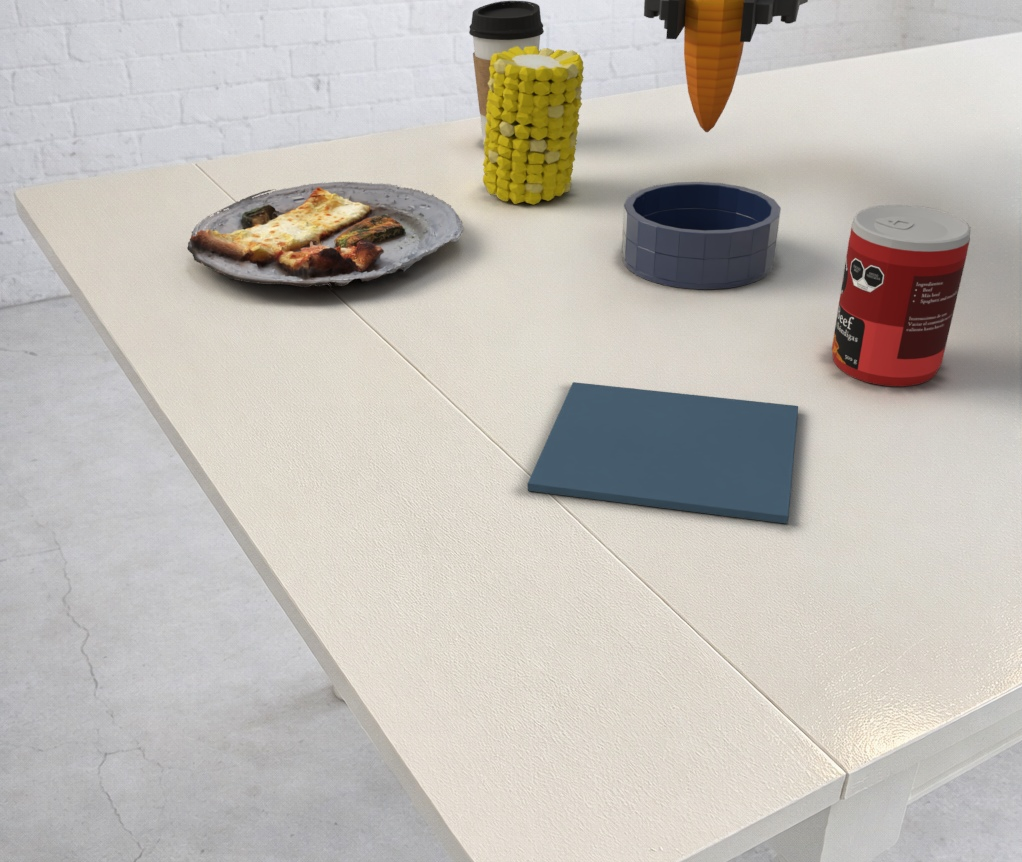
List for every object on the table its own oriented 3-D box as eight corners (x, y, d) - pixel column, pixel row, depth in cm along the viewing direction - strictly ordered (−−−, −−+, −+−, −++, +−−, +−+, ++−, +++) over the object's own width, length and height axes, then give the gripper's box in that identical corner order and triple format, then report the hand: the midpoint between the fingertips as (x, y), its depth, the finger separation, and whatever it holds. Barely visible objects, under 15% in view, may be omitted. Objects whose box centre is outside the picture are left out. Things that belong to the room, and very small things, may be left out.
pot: (777, 239, 106) (784, 186, 104) (768, 295, 95) (775, 238, 93) (634, 228, 109) (637, 177, 106) (610, 282, 98) (612, 226, 95)
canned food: (835, 336, 89) (857, 199, 82) (941, 350, 86) (973, 210, 80) (823, 379, 83) (847, 234, 76) (938, 395, 80) (971, 247, 74)
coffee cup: (556, 139, 134) (558, 4, 126) (518, 158, 129) (516, 16, 120) (498, 129, 138) (496, -3, 130) (458, 146, 132) (453, 9, 124)
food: (514, 187, 125) (589, 210, 120) (447, 191, 116) (525, 216, 111) (537, 40, 118) (618, 58, 113) (469, 32, 109) (553, 51, 104)
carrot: (714, 143, 90) (732, -65, 82) (664, 132, 93) (676, -71, 85) (749, 130, 93) (769, -73, 85) (699, 120, 96) (714, -77, 88)
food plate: (319, 327, 91) (314, 286, 89) (139, 264, 103) (131, 226, 101) (506, 236, 108) (506, 200, 106) (332, 191, 120) (329, 158, 118)
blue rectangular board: (797, 413, 79) (798, 405, 78) (787, 524, 67) (788, 516, 67) (572, 389, 82) (572, 381, 82) (527, 491, 71) (527, 483, 70)
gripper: (832, 19, 102) (825, 79, 84) (637, 12, 106) (589, 68, 87) (845, -74, 98) (841, -32, 79) (642, -77, 102) (592, -38, 83)
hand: (709, 21), depth 84 cm, fingers closed on carrot, 5 cm apart
